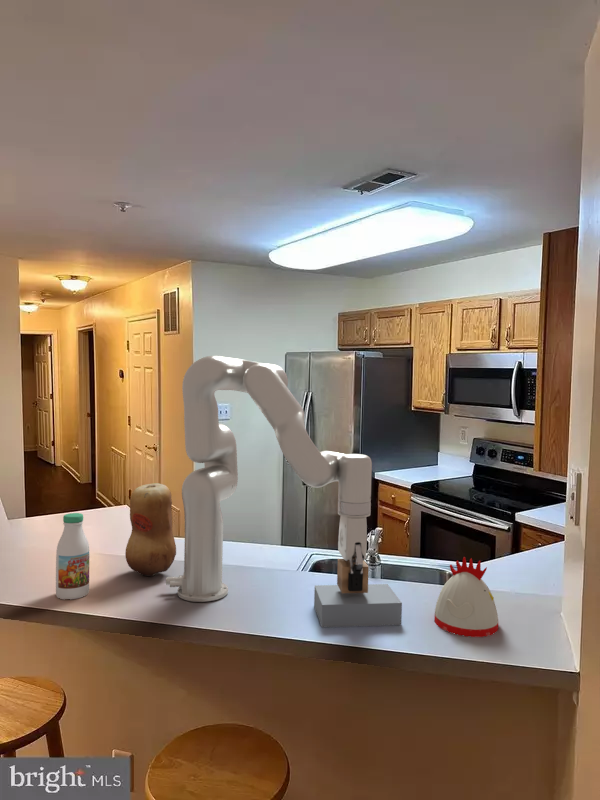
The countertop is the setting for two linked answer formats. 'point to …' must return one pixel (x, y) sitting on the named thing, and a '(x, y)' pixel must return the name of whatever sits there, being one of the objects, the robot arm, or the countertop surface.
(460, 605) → the kitchen timer
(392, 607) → the block
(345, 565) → the walnut cube
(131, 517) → the butternut squash
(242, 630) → the countertop surface
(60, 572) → the milk bottle
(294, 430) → the robot arm
